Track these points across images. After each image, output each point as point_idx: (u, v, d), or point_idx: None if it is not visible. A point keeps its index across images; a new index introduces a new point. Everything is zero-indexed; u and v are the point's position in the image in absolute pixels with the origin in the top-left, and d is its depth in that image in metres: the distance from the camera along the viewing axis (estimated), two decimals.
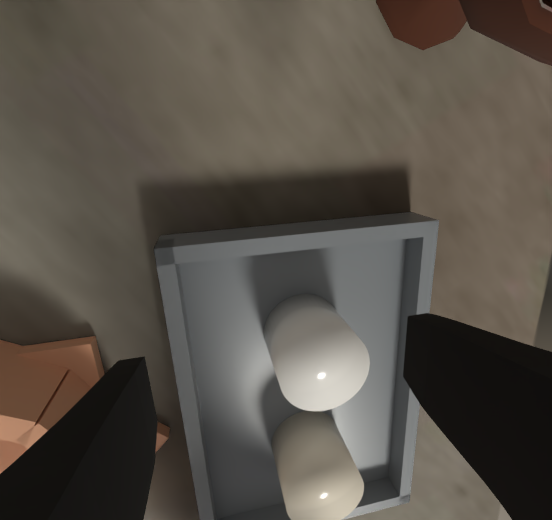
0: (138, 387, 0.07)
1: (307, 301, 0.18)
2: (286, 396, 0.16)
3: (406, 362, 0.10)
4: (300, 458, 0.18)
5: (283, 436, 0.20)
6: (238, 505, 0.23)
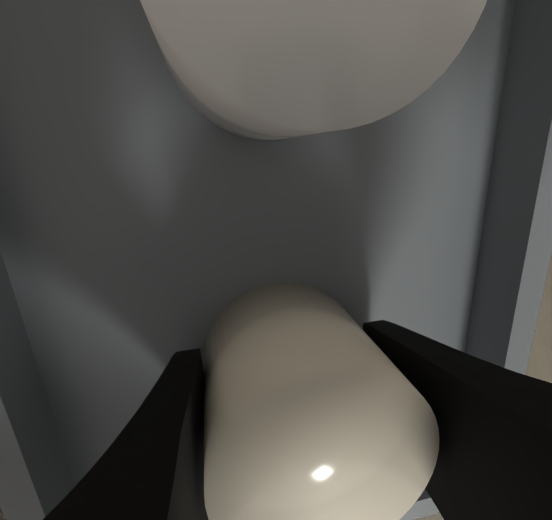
0: (200, 376, 0.08)
1: None
2: (156, 13, 0.04)
3: None
4: (253, 361, 0.06)
5: (221, 330, 0.08)
6: None
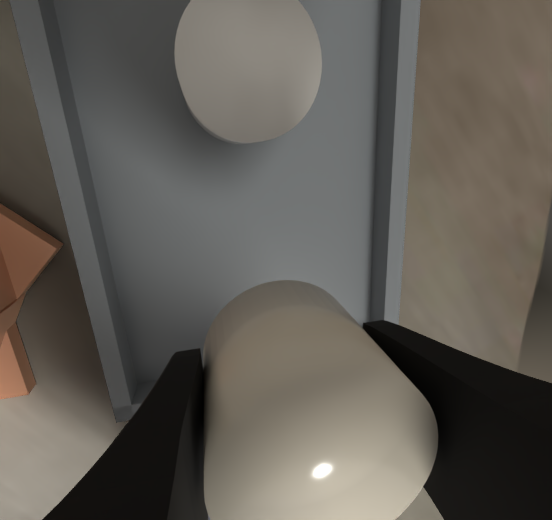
0: (200, 376, 0.08)
1: None
2: (190, 101, 0.10)
3: None
4: (253, 358, 0.06)
5: (222, 328, 0.08)
6: None
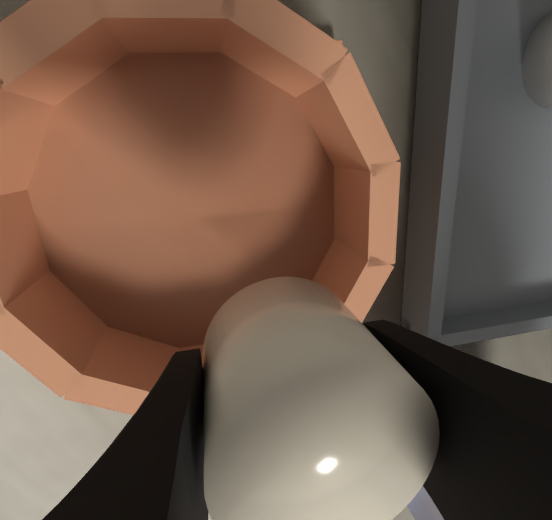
0: (200, 376, 0.08)
1: None
2: None
3: None
4: (253, 354, 0.06)
5: (222, 324, 0.08)
6: (448, 306, 0.19)
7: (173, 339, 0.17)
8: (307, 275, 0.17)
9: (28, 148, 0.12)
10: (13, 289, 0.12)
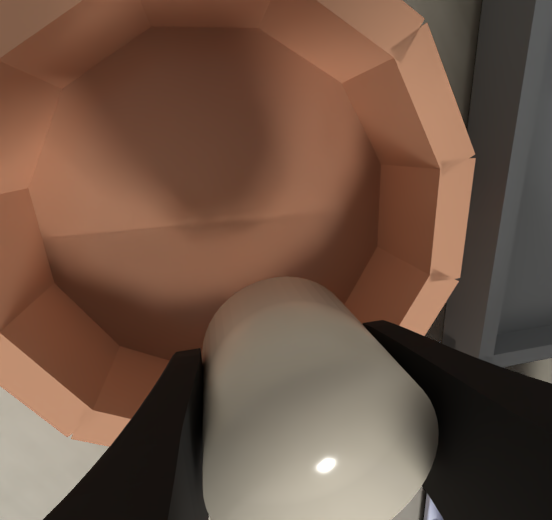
0: (201, 376, 0.08)
1: None
2: None
3: None
4: (252, 353, 0.06)
5: (221, 324, 0.08)
6: None
7: None
8: (345, 287, 0.15)
9: (30, 138, 0.10)
10: (11, 309, 0.10)
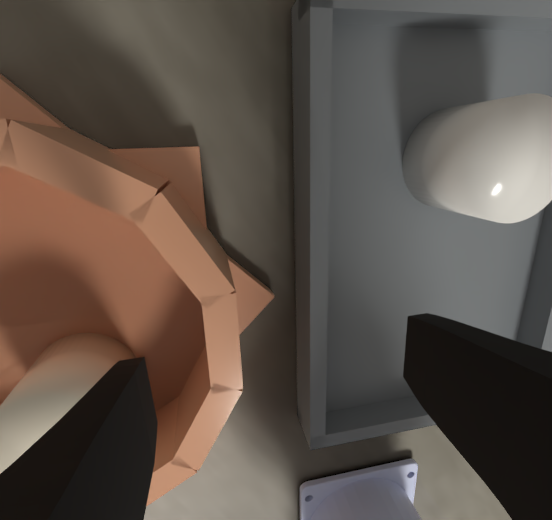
0: (138, 387, 0.07)
1: (469, 105, 0.14)
2: (470, 192, 0.12)
3: (406, 362, 0.10)
4: (19, 386, 0.12)
5: None
6: (342, 398, 0.19)
7: None
8: (181, 373, 0.16)
9: None
10: None
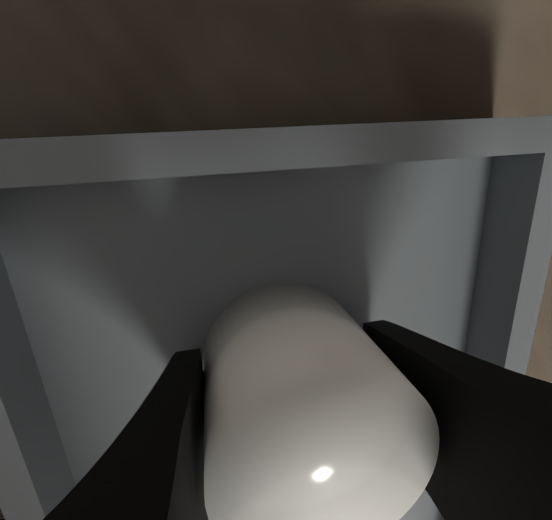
0: (200, 376, 0.08)
1: (290, 295, 0.08)
2: None
3: None
4: None
5: None
6: None
7: None
8: None
9: None
10: None
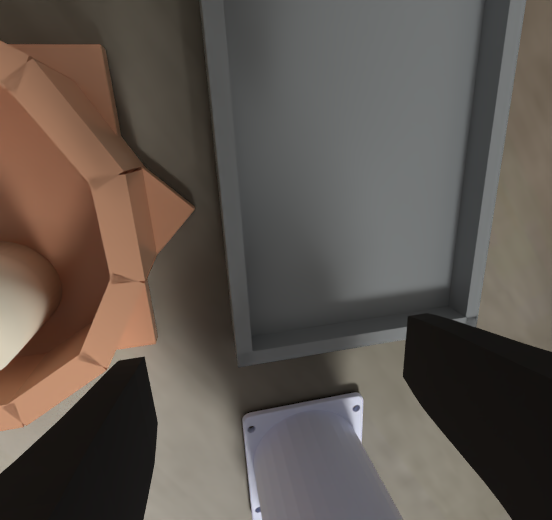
0: (138, 387, 0.07)
1: None
2: None
3: (406, 361, 0.10)
4: None
5: None
6: (275, 320, 0.19)
7: None
8: (104, 288, 0.17)
9: None
10: None
